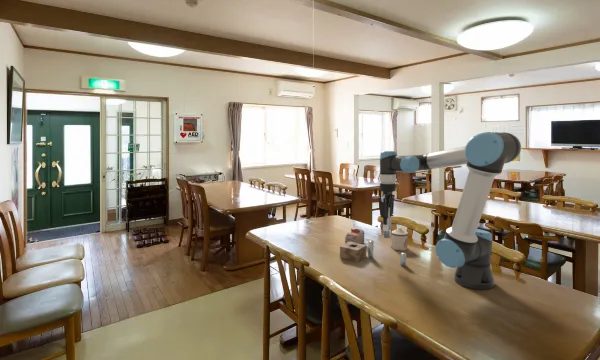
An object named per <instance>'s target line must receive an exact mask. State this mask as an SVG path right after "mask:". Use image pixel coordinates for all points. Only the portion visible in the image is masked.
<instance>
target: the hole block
mask: <svg viewBox="0 0 600 360" xmlns="http://www.w3.org/2000/svg"><path fill="white" fill-rule="evenodd" d="M365 257H367V244H364V243H363V244H359V243H354V242H348V243H346V244H345V243H343V244H342V245H341V246H339V258H340V259H345V260H348V261H352V262H355V263H358V262H359V261H361V260H363V259H364V258H365Z"/></svg>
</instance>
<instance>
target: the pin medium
mask: <svg viewBox="0 0 600 360" xmlns="http://www.w3.org/2000/svg"><path fill="white" fill-rule="evenodd" d="M367 244H368V247H367V251H368V253H367V259H370V260H373V259H374V248H375V246H374V240H372V239H370V240H368V243H367Z"/></svg>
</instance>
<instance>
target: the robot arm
mask: <svg viewBox="0 0 600 360" xmlns="http://www.w3.org/2000/svg"><path fill="white" fill-rule="evenodd" d="M521 151H522V144H521V141H520V139H519V138H518V137H517V136H516V135H514V134H512V133H509V132H503V131H502V132H496V131H495V132H494V131H492V132H491V131H484V132H481V133H477V134H475V135H474V136H472V137H470V138H469V140H468V142H467V143H466V145H464V146H461V147H456V148H455V147H454V148H450V149H445V150H444V149H443V150H440V151H435V152H430V153H429V152H428V153H426V154H425V153H424V154H415V155H414V154H412V155H397V152H396V150H395V151H394V150H383V151H380V155H379V175H378V178H379V182H380V183H379V191H380V192H382V195H381V197H380V198H379V202H380V218H382V231H383V232H384V231H389V218H388V210H389V208H390V231H391V230H392V217H394V207H395V206H394V205H395V194H393V192H395V191H396V190H397V188H396V186H397V184H396V182H397V172H398V173H399V172H401V173H407V174H409V173H411V174H412V173H416V172H419V171H420V172H421V171H430V170H435V169H440V168H448V167H455V166H463V165H466V167H467V168H468V174H467V177H466V181H465V183H464V186H463V190H462V193H461V195H460V196H461V197H460V199H459V202H458V206H457V209H456V213H455V216H454V217H453V218H454V219H453V221H452V225H451V226H450V227H448V228H446V230H445V233H444V236H443V238H441V239H439V240H438V241H437V243H436V244H435V254H436V256H437V257H438V260H439V261H440V262H441V263H442V264H443V265H444V266H446V267H448V268H449V269H451V268H452V269H455V268H456V270H455V271H454V273H453V275H454V277H453V278H454V279H453V280H454V281H455V283H457V284H459V285H460V286H463V287H465V288H469V289H474V290H490V289H493V288H494V286H495V279H494V275H493V272H492V268H491V263H492V262H491V260H492V251H493V250H492V249H493V248H492V247H493V243H494V241H493V234H492V233H491V232H490V231H487V230H484V229H479V228H478V227H479V224H480V220H481V219H482V215H483V212H484V210H485V207H486V203H487V200H488V198H489V195H490V192H491V188H492V186H493V182H494V180H495V178H496V176H499V175H501V173H502V171H503V168H504V165H505V164H509V163H510V162H514V161H515V160H516V159H517V158H518V157H519V156H520V154H521Z"/></svg>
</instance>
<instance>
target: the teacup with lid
mask: <svg viewBox="0 0 600 360" xmlns="http://www.w3.org/2000/svg"><path fill="white" fill-rule="evenodd" d="M390 233H391V243H390V244H391V245H390V247H391V249H393V250H395V251H406V250H407V249H408V237H409V232H408V231H407V230H404V229H402V227H397V229H394V230H392V231H391V232H390Z"/></svg>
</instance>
